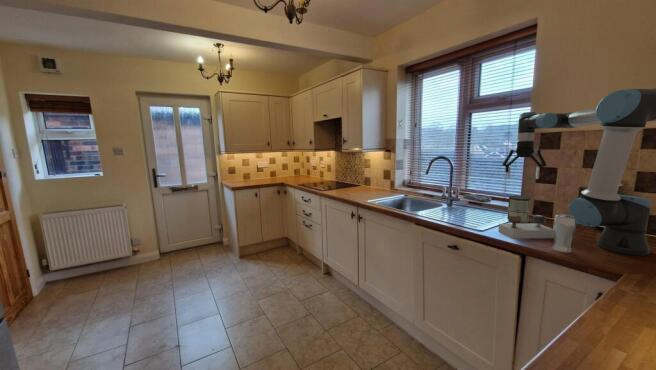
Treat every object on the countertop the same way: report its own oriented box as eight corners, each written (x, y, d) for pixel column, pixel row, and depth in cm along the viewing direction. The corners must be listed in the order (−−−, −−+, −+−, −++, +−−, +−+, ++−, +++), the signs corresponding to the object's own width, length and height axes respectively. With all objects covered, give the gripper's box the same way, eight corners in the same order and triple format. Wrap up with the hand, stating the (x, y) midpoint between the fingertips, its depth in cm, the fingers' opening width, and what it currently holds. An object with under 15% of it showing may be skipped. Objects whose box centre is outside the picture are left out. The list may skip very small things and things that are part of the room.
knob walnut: (522, 229, 129) (523, 217, 128) (512, 229, 129) (513, 217, 129) (515, 226, 134) (516, 214, 133) (505, 226, 134) (506, 214, 133)
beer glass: (550, 250, 112) (554, 216, 110) (551, 245, 117) (555, 212, 115) (572, 254, 108) (577, 219, 105) (572, 249, 113) (576, 215, 110)
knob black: (547, 229, 129) (548, 217, 128) (537, 229, 129) (538, 217, 128) (539, 226, 134) (540, 214, 133) (529, 226, 134) (530, 214, 133)
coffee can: (503, 217, 162) (505, 195, 160) (521, 218, 161) (523, 195, 159) (513, 222, 152) (515, 198, 150) (532, 223, 151) (535, 198, 149)
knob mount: (554, 238, 126) (555, 230, 126) (512, 238, 127) (513, 230, 126) (537, 230, 137) (538, 223, 137) (498, 231, 138) (499, 223, 137)
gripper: (550, 140, 146) (547, 178, 149) (498, 141, 156) (495, 177, 159) (556, 139, 139) (552, 179, 142) (500, 141, 149) (497, 178, 152)
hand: (522, 178), depth 151 cm, fingers open, 13 cm apart
